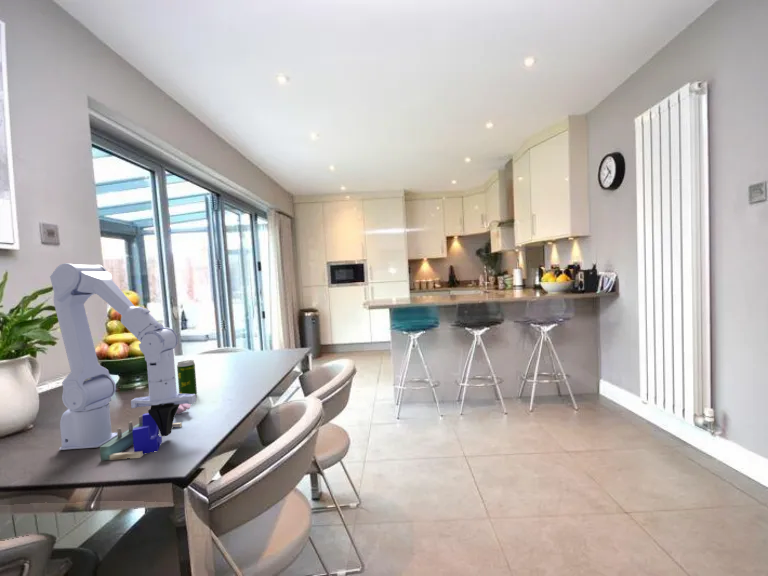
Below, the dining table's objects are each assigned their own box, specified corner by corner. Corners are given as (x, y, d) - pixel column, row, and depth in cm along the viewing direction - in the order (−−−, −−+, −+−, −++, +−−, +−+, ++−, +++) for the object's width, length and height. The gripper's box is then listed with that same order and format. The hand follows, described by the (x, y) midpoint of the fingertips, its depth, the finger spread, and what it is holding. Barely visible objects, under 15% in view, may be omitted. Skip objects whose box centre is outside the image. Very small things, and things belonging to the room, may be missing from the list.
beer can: (195, 393, 133) (192, 359, 133) (198, 396, 129) (196, 361, 128) (178, 397, 130) (175, 362, 129) (180, 400, 125) (178, 364, 125)
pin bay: (100, 460, 83) (99, 438, 83) (149, 428, 101) (148, 409, 101) (140, 457, 83) (138, 435, 83) (181, 426, 101) (180, 407, 101)
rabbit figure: (161, 415, 116) (174, 418, 105) (159, 396, 116) (172, 396, 105) (183, 409, 120) (198, 412, 109) (181, 390, 120) (195, 391, 110)
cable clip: (157, 452, 86) (155, 426, 86) (134, 456, 85) (132, 430, 84) (165, 433, 97) (163, 410, 97) (145, 437, 96) (143, 413, 96)
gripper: (120, 385, 88) (125, 443, 88) (183, 381, 88) (188, 439, 89) (139, 377, 95) (143, 431, 95) (198, 373, 95) (202, 427, 96)
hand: (166, 434), depth 92 cm, fingers closed
